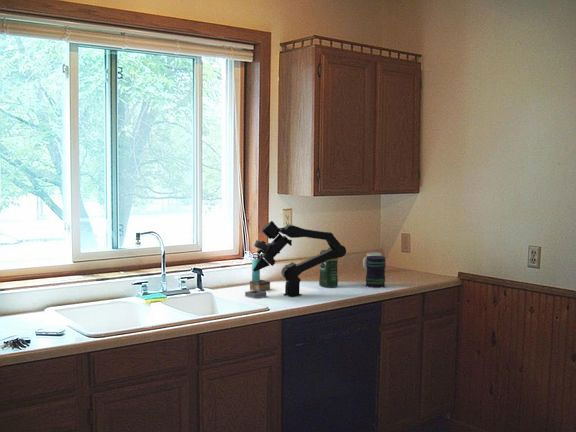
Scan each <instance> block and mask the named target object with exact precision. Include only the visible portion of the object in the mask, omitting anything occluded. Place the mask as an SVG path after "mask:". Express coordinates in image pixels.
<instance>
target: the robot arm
mask: <svg viewBox="0 0 576 432" xmlns="http://www.w3.org/2000/svg"><path fill="white" fill-rule="evenodd" d="M261 232H262V233H263V234H264V235H265V236H266V237H267V238H268V239H269V240H271V239H272V241H271V242H269V243H266V241H264V240H261V241H260V240H258V239H256V240H255V243H254V245H253V247H255V248H257V250H256V253H257V254H256V256H257V257H256V259H260V261H259V262H258V264H257V265H256V266H255V268H254V269H253V271H254V272H255V271H257V270H260V271H261V270H262V269H265V268H267V267H270V266H272V267H273V266H274V265H275V264H276V260H275V257H277V255H278V254H280V253H281V251H282V250H283V249H284V248H285V247H286V246H287V245H288V246H289V247H291V246H292V245H293V244H292V243H293V240H292V238H293V239H294V238H295V239H296V238H297V239H298V238H309V239H317V240H324V241H326V243H327V245H328V246H329V247H328V248H327V249H325V250H326V251H325V252H323V253H321V254H320V253H319V254H317V255H314V256H312V257H310V258H308V259H306V260H304V261H302V262H299V263H296V262H293V261H291V262H289V264H285V265H284V266H283V268H282V269H281V271H280V272H281V275H282V277H283V278H284V279H285V285H284V286H285V290H284V293H282V295H283V296H287V297H291V298H293V297H298V296H302V295H303V294H302V293H300V284H301V283H300V282H301V280H302V279H301V278H300V277H299V276H300V275H301V274H302V273H303V272H305V271H307V270H310V269H312V268H314V267H316V266H319V265H320V264H321V263H323V262H325V261H327V260H330V259H336V258H338V259H340V258H343V257H345V256H346V254H347V249H346V247H345V246H344V245H343V244H341V243H340V242H339V241H338V239H337V238H336V237H335V236H334V234H333V233H332V232H330V231H324V230H322V231H321V230H314V229H308V228H307V229H306V228H302V227H299V226H298V225H293V224H286V225H285V226H284V227H279V226H277V225H276V224H275V222H274V221H272V220H271V221H269V222H267V223H266V224H265V225H264V226H262V228H261ZM282 234H283V235H282ZM289 238H290V239H289Z"/></svg>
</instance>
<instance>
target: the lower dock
mask: <svg viewBox="0 0 576 432" xmlns="http://www.w3.org/2000/svg"><path fill="white" fill-rule="evenodd" d="M244 297H247V298H251V299H261V298H267V291H259V290H254V291H253V290H248V291H245V293H244Z"/></svg>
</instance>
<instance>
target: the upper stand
mask: <svg viewBox="0 0 576 432" xmlns="http://www.w3.org/2000/svg"><path fill="white" fill-rule="evenodd" d="M254 290H259V291H263V292H267V291H270V290H271V281H268V280H264V279H260V281H258V282H254V281H252V280H250V281H249V291H254Z"/></svg>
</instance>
